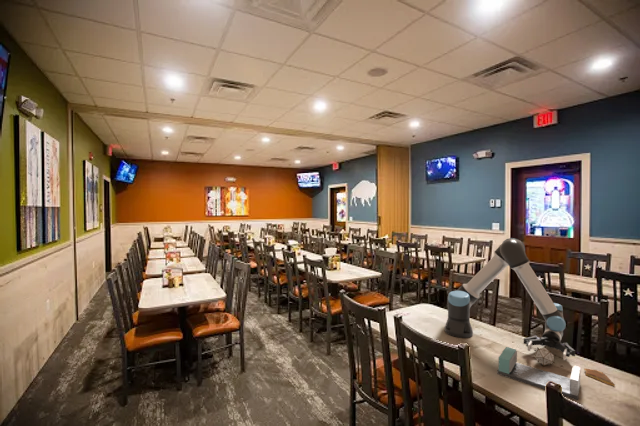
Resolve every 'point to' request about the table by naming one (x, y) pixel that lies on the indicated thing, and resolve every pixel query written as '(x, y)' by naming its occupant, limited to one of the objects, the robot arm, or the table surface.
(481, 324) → the table surface
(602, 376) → the shard
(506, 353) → the block
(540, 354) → the game die
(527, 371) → the vise bed
